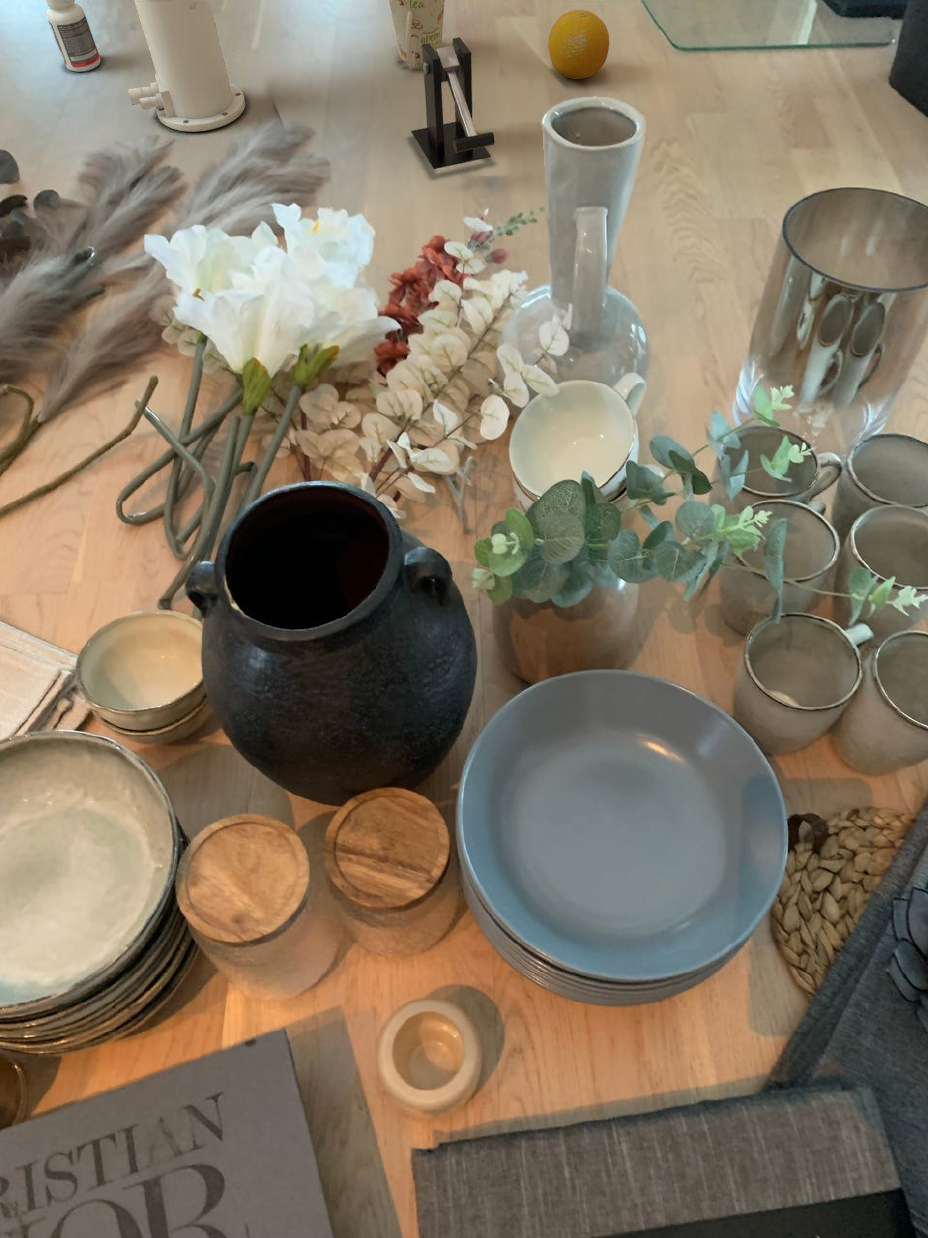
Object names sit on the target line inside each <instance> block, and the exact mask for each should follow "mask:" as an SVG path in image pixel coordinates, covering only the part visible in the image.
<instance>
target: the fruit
mask: <svg viewBox="0 0 928 1238" xmlns="http://www.w3.org/2000/svg"><path fill="white" fill-rule="evenodd" d="M548 35H549V36H548V39H547V47H548V48H547V49H548V55H549V59H550V62H551V65H552V68H554V70H555V71H556V72H557V73H558V74H560V75H561V76H563V77H565V78H568V79H570V80H571V79H572V80H584V79H588V78H590V77H592V76H594V75H595V74H597V73H598V72H599V71H600V70H601V69H602V68H603V66H604V65H605V63H606V61H607V58H608V55H609V51H610V50H609V49H610V33H609V30H608V27H607V26H606V24H605V22H604V21H603V20H602V19H601V17H599V16H598V15H597V14H595V13H594V12H591V11H589V10H586V9H574V10H569V11H567V12H564V13H563V14H562V15H561V16H559V18H557V19H556V20H555V22H554V24H553V25H552V27H551V28H550V32H549V34H548Z"/></svg>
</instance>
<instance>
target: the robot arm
mask: <svg viewBox="0 0 928 1238" xmlns="http://www.w3.org/2000/svg"><path fill="white" fill-rule="evenodd" d="M133 1H134V4H135V8H136V11H137V14H138V17H139V20H140V24H141V27H142V31H143V34H144V37H145V41H146V44H147V47H148V50H149V53H150V57H151V61H152V64H153V67H154V70H155V74H154V78H155V81H154V82H153V81H152V82H149V86H143V87H140V86H139V87H133V88H129V89H127V92H128V95H129V98H130V103H131V105H132V106H137V105H140V106H141V110H142V111H145V110H150V109H152V108H155V110H156V111H155V112H156V114H157V117H158V120H159V122H161V123H162V124H163V125H164V126H166V127H168V128H170V129H173V130H176V131H179V132H189V133H190V132H193V133H195V132H206V131H210V130H215V129H218V128H221V127H224V126H226V125H229V124H230V123H232V122H234V121H235V120H236V119H237V118H239V117H240V116H241V115H242V114H243V112H244V110H245V108H246V100H245V94H244V93H243V91H242V90H241V89H240V88H239V87H238V86H235V84H232V83H231V82H230V79H229V74H228V71H227V66H226V62H225V58H224V54H223V49H222V46H221V42H220V37H219V34H218V29H217V25H216V24H217V23H216V21H215V20H216V19H215V17H214V12H213V9H212V4H211V0H133Z"/></svg>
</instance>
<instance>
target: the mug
mask: <svg viewBox="0 0 928 1238" xmlns="http://www.w3.org/2000/svg"><path fill="white" fill-rule="evenodd" d="M445 1H446V0H388V3H389V7H390V8H389V9H390V12H391V19H392V22H393V28H394V33H395V39H396V44H397V48H398V53H399V57H400V59H401V60H403V61H404V62H407V65H408V67H409V68H414V67H415V65H416V64H423V51H422V44H427V43H430V45H431V46H432V48H433V49H434V50H435V52H436V49H437V48H442V47H443V46H442V42H443V31H444V30H443V29H444V28H443V27H444V17H445V15H444V13H445Z"/></svg>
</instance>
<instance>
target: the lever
mask: <svg viewBox="0 0 928 1238" xmlns="http://www.w3.org/2000/svg"><path fill="white" fill-rule="evenodd" d="M436 53H437V55H438V56H439V58H440V63H441V83H445V82H447V84H448V87H449V90H450V93H451V96H452V99H453V102H454V106H455V105H456V108H457V111H458V114H459V117H460V119H461V122H462V125H463V128H464V131H465V134H466V137H465V138H460V139H455V140H453V147H454V150H455V152H456V153H458V152H462V151H467V150H472V149H476V148H481V147H485V148H486V147H489V146H494V145H495V143H496V137H495V134H494V132H493V131H489V132H484V133H479V134H478V133H477V130H476V128H475V124H474V122H473V121H474V120H473V117H472V118H471V116H470V113H469V110H468V107H467V104H466V101H465V98H464V95H463V92H462V89H461V86H460V84H459V81H458V73H459V66H460V64H459V61H458V59H457V56H456V53H455V50H454V47H453V44H451V45H448V46H447V45H446V46H441V48H437V49H436ZM472 120H473V121H472Z"/></svg>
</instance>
